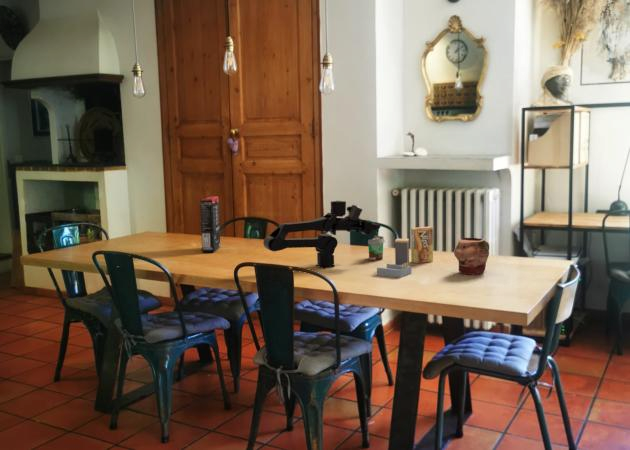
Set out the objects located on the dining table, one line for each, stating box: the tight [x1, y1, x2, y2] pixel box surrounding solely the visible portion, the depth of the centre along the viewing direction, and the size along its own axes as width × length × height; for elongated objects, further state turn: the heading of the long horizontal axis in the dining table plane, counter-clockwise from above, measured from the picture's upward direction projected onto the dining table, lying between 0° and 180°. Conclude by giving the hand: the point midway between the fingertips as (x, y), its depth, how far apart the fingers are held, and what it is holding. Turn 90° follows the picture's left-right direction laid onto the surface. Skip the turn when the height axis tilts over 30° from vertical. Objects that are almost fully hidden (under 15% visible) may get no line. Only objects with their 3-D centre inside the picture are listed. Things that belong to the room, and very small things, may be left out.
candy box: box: [410, 226, 434, 264], centre depth 292 cm, size 9×4×15 cm, turn 104°
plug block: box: [394, 238, 410, 266], centre depth 280 cm, size 5×5×12 cm
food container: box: [367, 235, 386, 262], centre depth 301 cm, size 12×6×10 cm, turn 161°
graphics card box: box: [199, 195, 221, 253], centre depth 339 cm, size 17×7×27 cm, turn 178°
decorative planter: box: [453, 237, 490, 276], centre depth 268 cm, size 20×12×14 cm, turn 134°
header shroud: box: [376, 262, 413, 279], centre depth 270 cm, size 11×9×5 cm
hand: (375, 224), depth 298 cm, fingers open, 9 cm apart
